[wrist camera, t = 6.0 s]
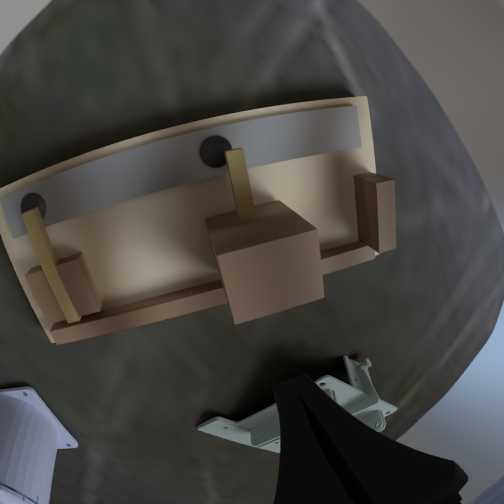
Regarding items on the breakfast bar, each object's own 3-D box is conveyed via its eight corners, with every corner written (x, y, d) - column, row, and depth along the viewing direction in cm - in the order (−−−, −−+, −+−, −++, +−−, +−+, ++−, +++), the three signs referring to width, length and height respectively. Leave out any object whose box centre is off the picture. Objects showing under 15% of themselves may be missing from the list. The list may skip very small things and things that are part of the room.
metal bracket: (323, 384, 18) (419, 424, 24) (308, 314, 22) (402, 376, 28) (187, 449, 23) (303, 475, 29) (191, 394, 28) (298, 432, 34)
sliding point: (218, 273, 18) (235, 324, 13) (190, 157, 15) (196, 171, 11) (287, 254, 18) (324, 297, 14) (268, 140, 16) (306, 147, 11)
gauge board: (56, 332, 18) (41, 366, 15) (-4, 190, 14) (-35, 205, 11) (370, 247, 21) (400, 268, 18) (356, 96, 17) (391, 94, 14)
